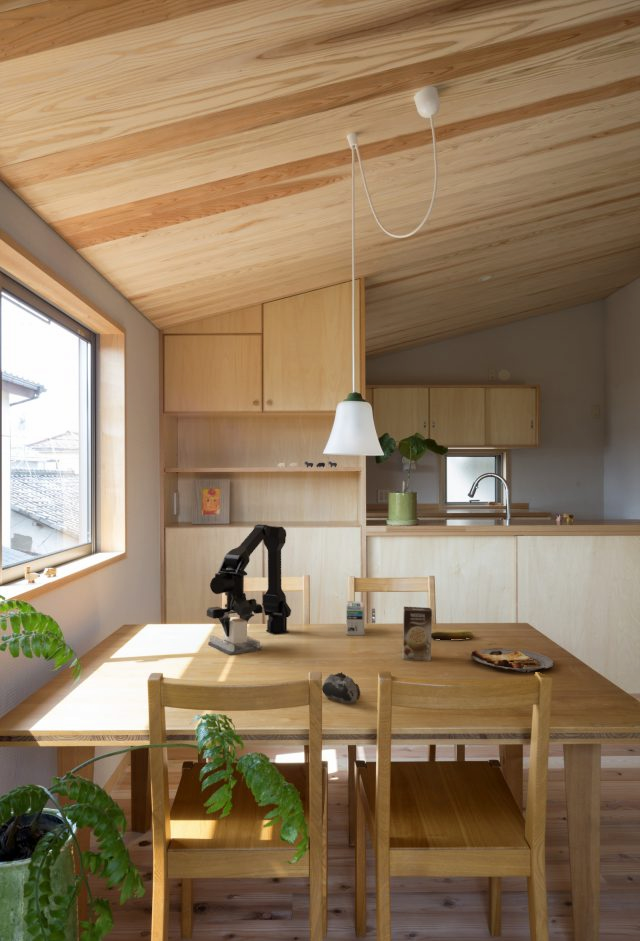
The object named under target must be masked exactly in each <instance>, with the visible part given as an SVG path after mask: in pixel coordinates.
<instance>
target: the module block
mask: <svg viewBox="0 0 640 941" xmlns="http://www.w3.org/2000/svg"><path fill="white" fill-rule="evenodd" d="M229 618H230V621H229V637H227V636H226V634H225V631H224V629H223V628H222V640H227V641H229V642H231V643H233V644H235V643H242V642H247V636H248V623H247V621H246V620H243V619H241V618H240V617H238V616H233V617H232V616H231V617H229Z"/></svg>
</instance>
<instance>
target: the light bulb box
mask: <svg viewBox="0 0 640 941" xmlns="http://www.w3.org/2000/svg"><path fill="white" fill-rule="evenodd" d="M345 607H346V608H345V612H346V614H345V618H346V619H345V620H346V622H345V623H346V625H345V627H346V628H345V629H346V636H365V605H364V601H350V600H349V601H348V600H346V605H345Z"/></svg>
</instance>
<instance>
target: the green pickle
mask: <svg viewBox="0 0 640 941" xmlns="http://www.w3.org/2000/svg"><path fill="white" fill-rule="evenodd" d="M471 637H472V638H474V633H473V632H472V631H471V630H467V629H462V630H461V629H459V630H447V631H446V630H435V631H432V632H431V639H433V640H434V639H440V640H451V639H466V638H471ZM440 640H439V641H440Z"/></svg>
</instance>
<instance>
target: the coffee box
mask: <svg viewBox="0 0 640 941" xmlns="http://www.w3.org/2000/svg"><path fill="white" fill-rule="evenodd" d="M432 613H433V612H432V608H431V607H422V606H421V607H418V606H403V618H402V619H403V622H402V651H401V652H402V653H401V656H402V660H406V661H422V660H423V661H424V662H426V661H427V662H428V661H429V662H431V660H432V659H431V658H432V638H431V633H432V627H433V626H432V620H433V618H432V617H433V614H432Z"/></svg>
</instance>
